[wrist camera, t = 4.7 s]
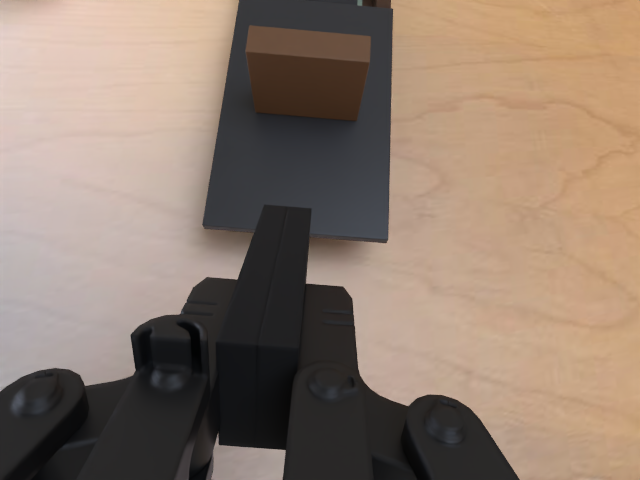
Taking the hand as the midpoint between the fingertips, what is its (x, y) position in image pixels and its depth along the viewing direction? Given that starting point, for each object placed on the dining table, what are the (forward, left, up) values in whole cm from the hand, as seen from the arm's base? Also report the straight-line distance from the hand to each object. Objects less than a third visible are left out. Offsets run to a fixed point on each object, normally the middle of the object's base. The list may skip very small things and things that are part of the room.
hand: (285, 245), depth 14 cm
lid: (-11, +3, -9) cm, 15 cm away
